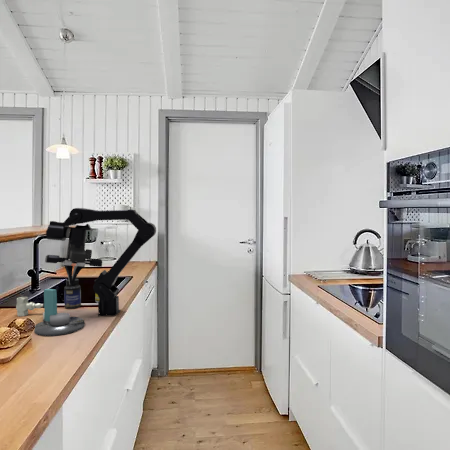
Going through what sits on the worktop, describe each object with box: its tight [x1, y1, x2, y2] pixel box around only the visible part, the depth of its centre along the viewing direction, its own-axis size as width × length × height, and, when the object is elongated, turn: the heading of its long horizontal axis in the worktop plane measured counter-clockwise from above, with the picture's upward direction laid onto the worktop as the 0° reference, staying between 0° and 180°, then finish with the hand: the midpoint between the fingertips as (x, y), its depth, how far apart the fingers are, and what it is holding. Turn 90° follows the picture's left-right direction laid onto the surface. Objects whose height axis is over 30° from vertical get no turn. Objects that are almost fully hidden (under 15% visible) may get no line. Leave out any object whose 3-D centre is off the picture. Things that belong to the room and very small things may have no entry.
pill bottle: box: [63, 278, 82, 310], centre depth 144 cm, size 6×6×11 cm
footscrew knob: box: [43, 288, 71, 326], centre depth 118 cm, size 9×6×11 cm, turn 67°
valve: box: [15, 296, 44, 317], centre depth 134 cm, size 7×7×12 cm
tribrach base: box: [33, 312, 86, 337], centre depth 118 cm, size 15×15×4 cm
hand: (71, 285), depth 129 cm, fingers closed
